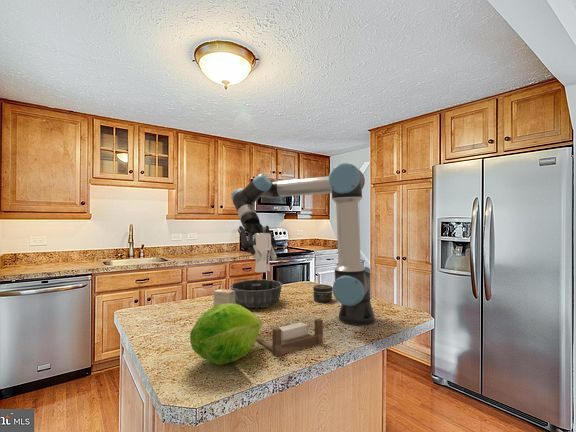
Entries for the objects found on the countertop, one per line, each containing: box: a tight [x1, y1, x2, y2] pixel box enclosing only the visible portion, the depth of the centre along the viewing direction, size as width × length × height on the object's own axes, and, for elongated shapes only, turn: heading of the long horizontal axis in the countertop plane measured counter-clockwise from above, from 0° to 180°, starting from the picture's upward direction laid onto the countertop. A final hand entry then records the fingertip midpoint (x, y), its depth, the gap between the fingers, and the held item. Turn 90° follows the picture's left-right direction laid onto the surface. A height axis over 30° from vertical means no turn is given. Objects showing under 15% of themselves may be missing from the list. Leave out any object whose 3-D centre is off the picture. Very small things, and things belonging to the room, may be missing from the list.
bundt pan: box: [229, 279, 283, 309], centre depth 160 cm, size 26×26×10 cm
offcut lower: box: [281, 331, 311, 343], centre depth 106 cm, size 4×12×3 cm, turn 122°
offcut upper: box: [278, 321, 308, 340], centre depth 106 cm, size 4×10×3 cm, turn 125°
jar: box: [312, 284, 333, 304], centre depth 166 cm, size 10×10×8 cm
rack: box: [256, 318, 324, 357], centre depth 111 cm, size 21×18×9 cm
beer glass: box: [253, 232, 272, 274], centre depth 124 cm, size 7×7×15 cm
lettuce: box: [189, 303, 263, 366], centre depth 97 cm, size 19×25×17 cm
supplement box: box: [213, 288, 236, 307], centre depth 133 cm, size 8×5×13 cm, turn 65°
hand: (266, 259), depth 121 cm, fingers closed on beer glass, 7 cm apart
